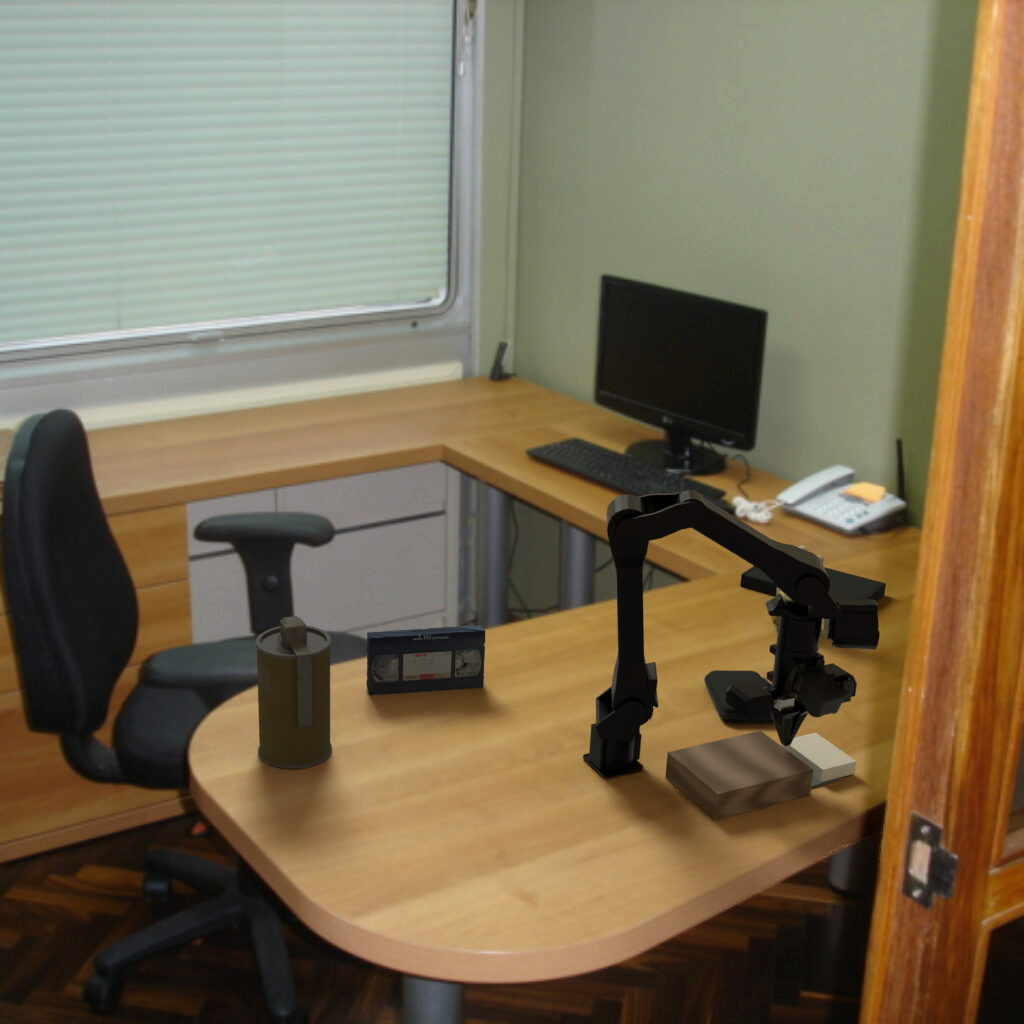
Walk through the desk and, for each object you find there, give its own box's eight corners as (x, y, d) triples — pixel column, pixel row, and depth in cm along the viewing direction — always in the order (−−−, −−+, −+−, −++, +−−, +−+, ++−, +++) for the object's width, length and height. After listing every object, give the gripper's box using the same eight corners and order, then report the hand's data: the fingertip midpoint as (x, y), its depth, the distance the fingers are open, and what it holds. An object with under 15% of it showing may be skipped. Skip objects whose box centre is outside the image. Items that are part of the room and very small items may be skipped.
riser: (714, 820, 183) (717, 794, 182) (665, 777, 193) (667, 752, 192) (810, 795, 190) (813, 769, 189) (757, 754, 200) (760, 730, 199)
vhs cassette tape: (367, 696, 212) (368, 638, 209) (365, 687, 215) (366, 629, 212) (484, 689, 216) (486, 632, 213) (481, 681, 219) (483, 624, 216)
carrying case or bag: (789, 727, 209) (765, 683, 223) (792, 710, 208) (767, 666, 222) (720, 727, 208) (701, 683, 222) (722, 709, 207) (702, 666, 221)
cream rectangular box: (856, 761, 195) (854, 773, 195) (815, 732, 202) (814, 744, 203) (823, 769, 192) (821, 782, 193) (783, 740, 200) (781, 752, 200)
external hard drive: (855, 621, 248) (857, 605, 247) (739, 588, 261) (741, 573, 260) (884, 597, 260) (886, 582, 258) (771, 567, 272) (773, 553, 271)
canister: (250, 739, 198) (247, 612, 191) (320, 728, 202) (319, 603, 195) (268, 776, 189) (265, 644, 182) (341, 764, 193) (341, 634, 186)
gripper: (779, 680, 177) (767, 786, 182) (890, 656, 185) (875, 758, 191) (728, 646, 186) (718, 747, 192) (836, 624, 195) (823, 722, 200)
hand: (785, 744), depth 193 cm, fingers closed
